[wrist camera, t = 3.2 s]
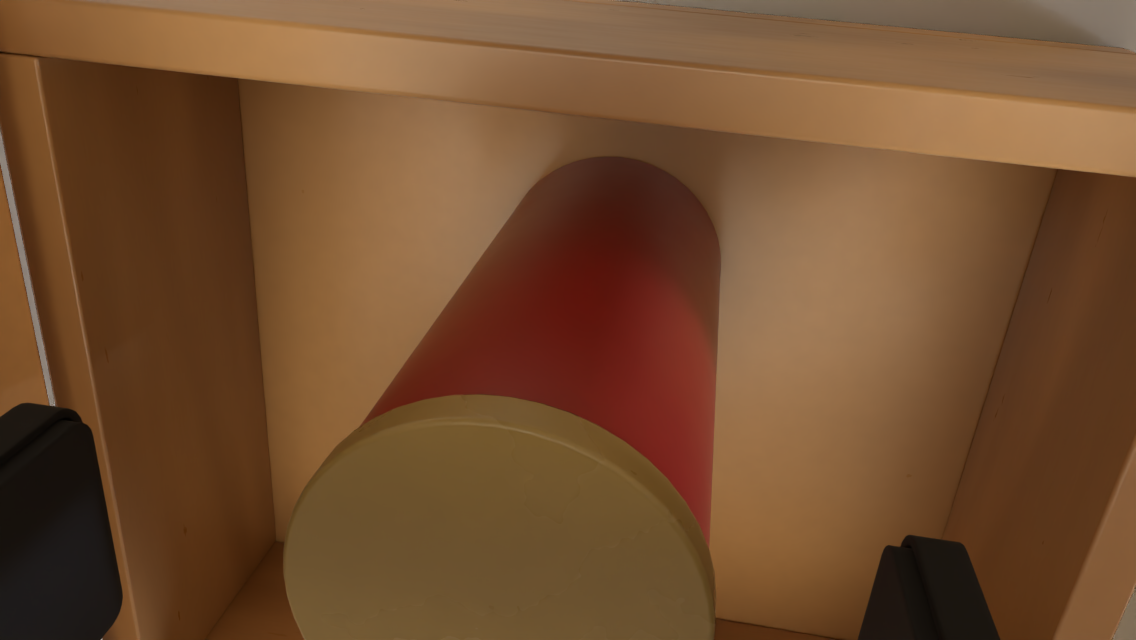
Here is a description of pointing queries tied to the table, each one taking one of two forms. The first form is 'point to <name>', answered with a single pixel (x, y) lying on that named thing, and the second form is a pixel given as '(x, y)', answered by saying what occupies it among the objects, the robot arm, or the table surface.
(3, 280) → the tea box lid
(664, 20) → the tea box
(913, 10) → the table surface
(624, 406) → the tea tin
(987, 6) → the table surface
